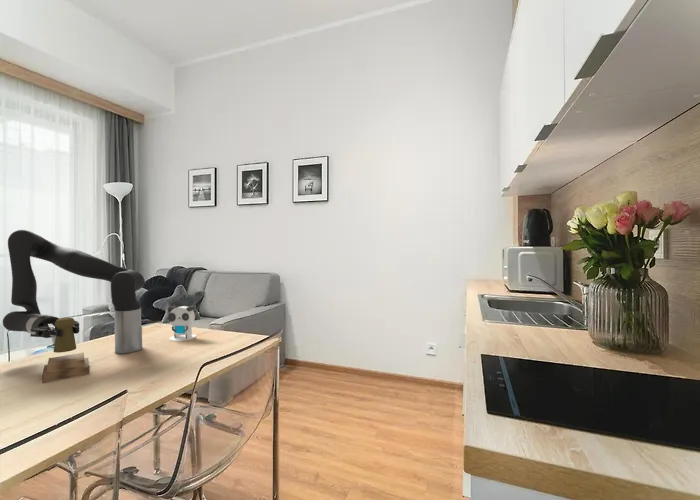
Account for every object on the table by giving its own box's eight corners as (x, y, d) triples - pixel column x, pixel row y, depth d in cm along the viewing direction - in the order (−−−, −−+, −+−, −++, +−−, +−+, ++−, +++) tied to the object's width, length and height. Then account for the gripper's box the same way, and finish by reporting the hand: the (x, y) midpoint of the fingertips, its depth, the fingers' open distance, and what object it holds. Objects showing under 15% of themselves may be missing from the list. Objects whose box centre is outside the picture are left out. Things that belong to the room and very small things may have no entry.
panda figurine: (162, 340, 154) (161, 308, 154) (178, 334, 165) (178, 303, 165) (186, 341, 152) (185, 309, 152) (200, 335, 164) (200, 304, 163)
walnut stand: (88, 364, 124) (88, 350, 124) (89, 374, 115) (89, 359, 115) (44, 372, 116) (44, 357, 116) (41, 383, 107) (41, 367, 107)
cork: (63, 353, 112) (62, 320, 112) (48, 351, 113) (48, 319, 113) (80, 347, 118) (80, 316, 118) (67, 346, 119) (67, 315, 119)
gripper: (18, 319, 115) (43, 325, 108) (67, 312, 128) (93, 317, 120) (18, 341, 115) (43, 348, 108) (67, 331, 128) (93, 337, 121)
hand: (69, 332), depth 114 cm, fingers closed on cork, 4 cm apart
